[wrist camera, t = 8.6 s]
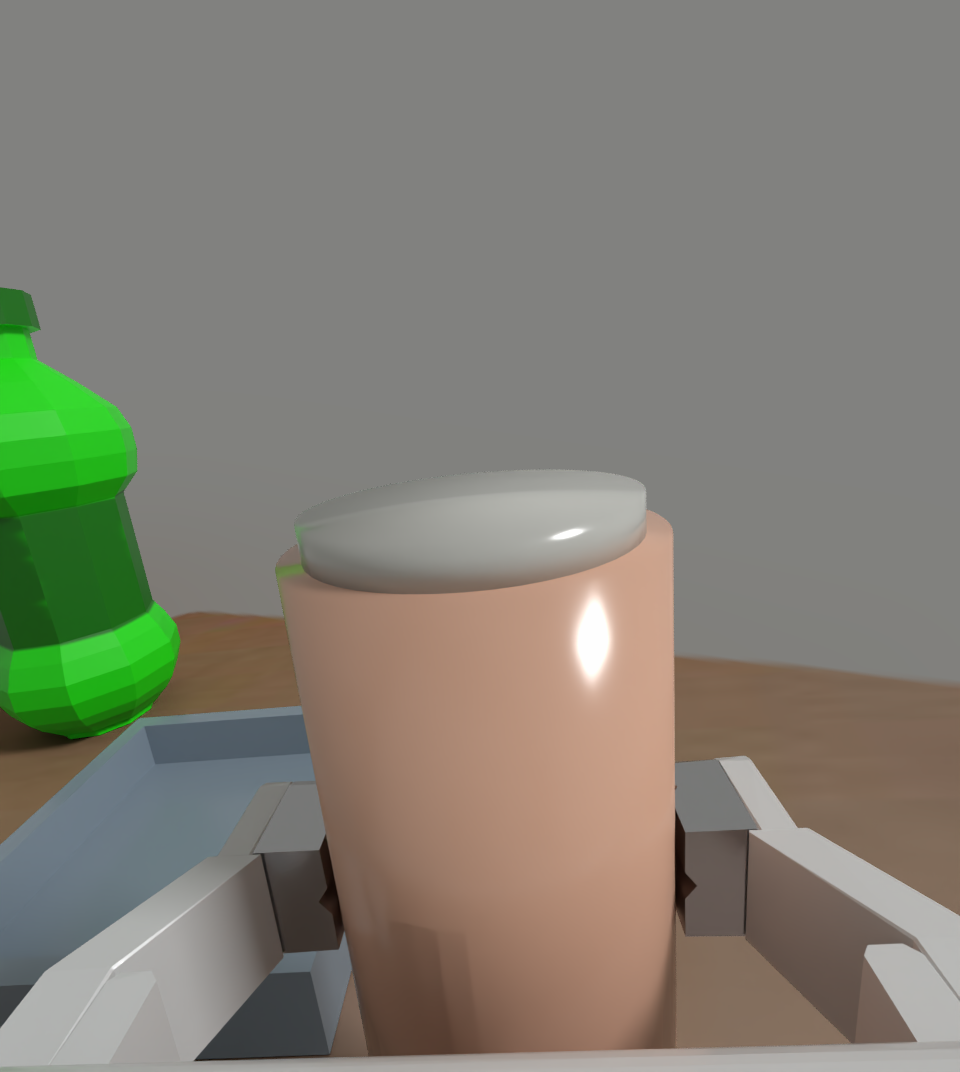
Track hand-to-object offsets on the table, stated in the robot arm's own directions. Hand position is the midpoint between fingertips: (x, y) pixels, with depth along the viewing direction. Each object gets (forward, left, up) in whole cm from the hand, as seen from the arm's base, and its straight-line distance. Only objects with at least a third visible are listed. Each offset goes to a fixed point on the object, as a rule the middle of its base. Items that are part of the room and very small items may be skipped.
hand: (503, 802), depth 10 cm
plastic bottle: (-26, +23, -11) cm, 36 cm away
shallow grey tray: (-13, +10, -11) cm, 19 cm away
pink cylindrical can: (0, -1, -6) cm, 6 cm away
